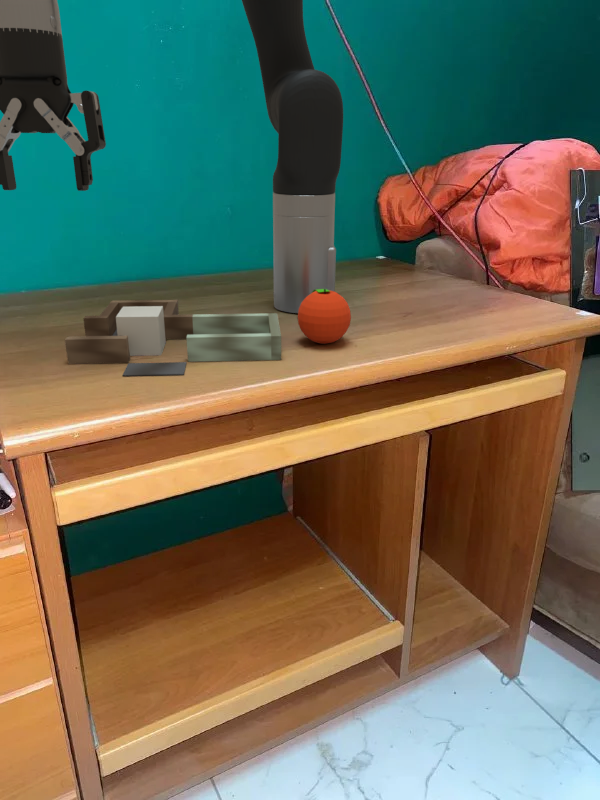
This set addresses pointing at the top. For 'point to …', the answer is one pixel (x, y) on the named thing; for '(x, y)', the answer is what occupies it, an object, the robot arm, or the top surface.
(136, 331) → the cream block
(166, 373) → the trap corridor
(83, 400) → the top surface
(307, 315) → the clementine
